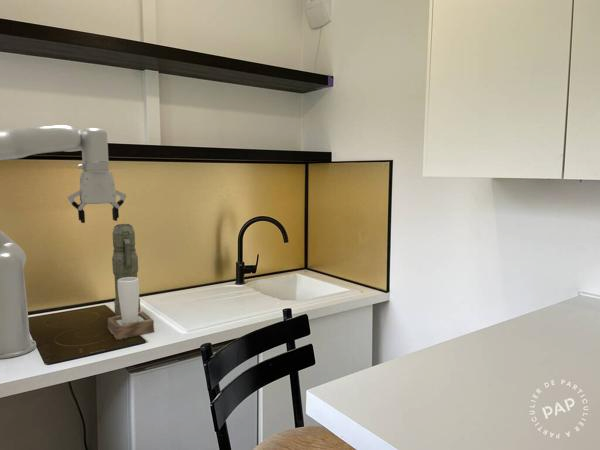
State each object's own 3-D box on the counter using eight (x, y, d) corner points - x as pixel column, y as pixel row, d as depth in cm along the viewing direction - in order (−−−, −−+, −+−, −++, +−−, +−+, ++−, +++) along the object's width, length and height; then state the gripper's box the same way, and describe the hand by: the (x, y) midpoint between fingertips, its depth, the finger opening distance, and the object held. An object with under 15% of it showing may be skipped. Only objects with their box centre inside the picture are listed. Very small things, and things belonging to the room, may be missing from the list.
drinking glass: (137, 317, 156) (135, 275, 154) (143, 322, 150) (141, 279, 148) (117, 321, 152) (114, 278, 150) (122, 326, 146) (120, 282, 144)
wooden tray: (116, 340, 143) (116, 327, 143) (108, 329, 153) (107, 317, 152) (154, 332, 150) (153, 320, 150) (143, 322, 160) (142, 311, 159)
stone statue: (121, 324, 158) (116, 227, 154) (110, 316, 167) (105, 224, 163) (146, 318, 164) (141, 225, 160) (133, 311, 173) (129, 222, 168)
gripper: (67, 167, 132) (71, 224, 134) (127, 167, 142) (130, 220, 144) (63, 168, 138) (67, 222, 140) (121, 168, 148) (124, 218, 150)
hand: (99, 221), depth 142 cm, fingers open, 9 cm apart
